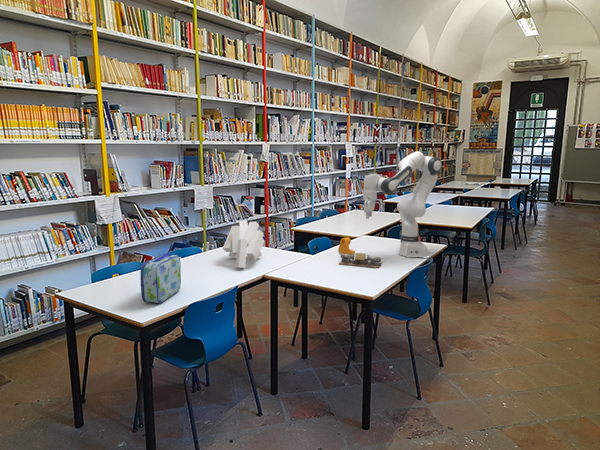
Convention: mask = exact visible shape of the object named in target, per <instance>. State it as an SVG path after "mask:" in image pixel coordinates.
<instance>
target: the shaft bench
mask: <svg viewBox="0 0 600 450" xmlns="http://www.w3.org/2000/svg"><path fill="white" fill-rule="evenodd" d="M340 259H341V260H340V262H339V263H338V265H339V266H347V267H356V268H357V267H359V268H369V269H376V268H378V269H380V267H381V266H382V264H383V262H381V259H382V258H381V257H380V256H371V255H367V254H366V261H357V260H355V254H340ZM378 269H377V270H378Z"/></svg>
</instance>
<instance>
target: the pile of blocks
mask: <svg viewBox="0 0 600 450" xmlns="http://www.w3.org/2000/svg"><path fill="white" fill-rule="evenodd" d="M238 224H239V225H231V228H230V230H229V233H228V235H227V238H226V239H225V242H224V244H223V246H222V250H223V251H225V252H226V253H229V254H228V256H229V257H232V258H235V260H236V261H235V263H236V264H235V268H236V269H241V270H242V269H245V268H246V262H247V261H246V259H247V260H248V262H253V261H254V262H255V261H257V259H258V258H260V257H262V256H263V255H262V253H261V250H262V248H263V245H264V243H265V240H264V238H263V237H264V232H263V231H262V230H261V229H259V226H260V224H259V223H258V222H257V221H249V223H248V220H247V219H245V220H240V221H238ZM258 229H259V230H258Z"/></svg>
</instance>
